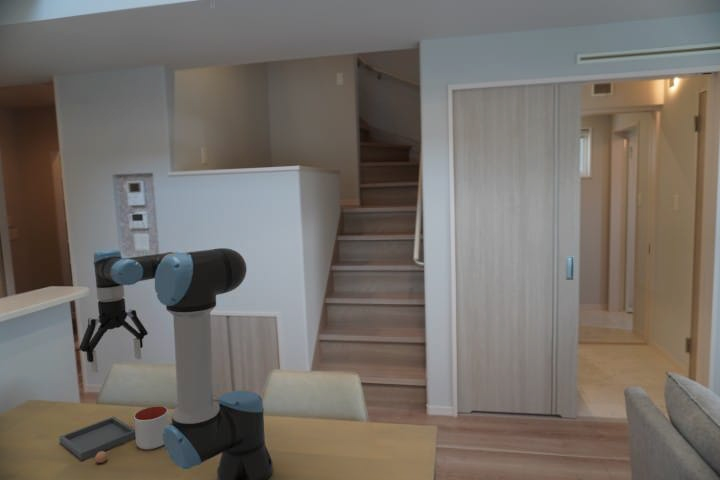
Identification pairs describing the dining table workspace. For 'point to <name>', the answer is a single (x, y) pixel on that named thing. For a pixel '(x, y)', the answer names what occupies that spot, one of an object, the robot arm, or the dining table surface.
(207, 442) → the robot arm
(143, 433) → the cup
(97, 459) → the ball
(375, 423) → the dining table surface
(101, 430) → the tray
